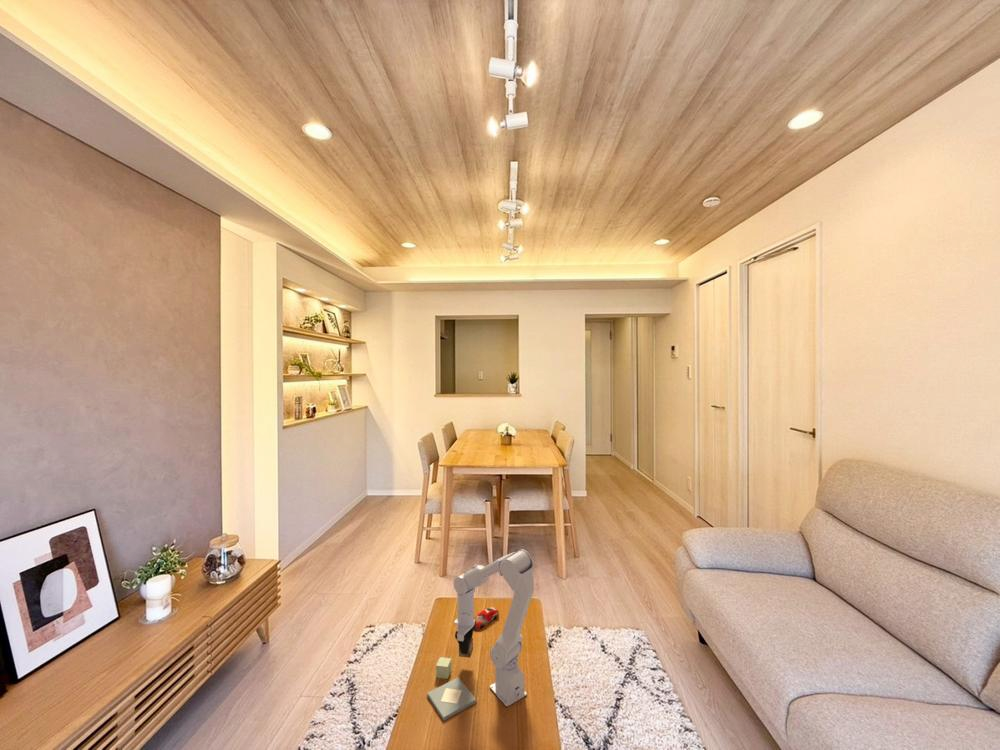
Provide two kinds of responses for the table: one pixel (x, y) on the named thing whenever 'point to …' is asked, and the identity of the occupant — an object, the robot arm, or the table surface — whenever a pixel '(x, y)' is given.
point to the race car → (486, 617)
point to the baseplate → (451, 698)
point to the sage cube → (443, 668)
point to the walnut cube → (468, 650)
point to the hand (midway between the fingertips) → (466, 648)
